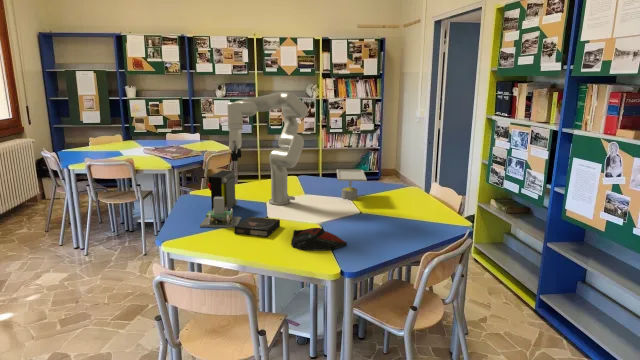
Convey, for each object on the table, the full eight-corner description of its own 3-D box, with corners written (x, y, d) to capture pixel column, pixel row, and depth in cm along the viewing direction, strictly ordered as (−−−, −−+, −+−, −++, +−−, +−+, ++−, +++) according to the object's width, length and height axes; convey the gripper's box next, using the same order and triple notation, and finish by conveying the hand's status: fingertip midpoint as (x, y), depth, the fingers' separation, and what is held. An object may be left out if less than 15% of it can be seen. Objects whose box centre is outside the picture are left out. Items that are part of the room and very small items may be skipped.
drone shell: (285, 245, 192) (285, 228, 190) (313, 234, 206) (313, 218, 205) (322, 258, 179) (322, 240, 177) (349, 245, 193) (350, 228, 192)
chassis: (241, 218, 227) (241, 207, 225) (236, 227, 213) (235, 216, 212) (207, 218, 227) (206, 207, 225) (199, 227, 213) (199, 215, 212)
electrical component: (226, 213, 235) (224, 177, 230) (208, 212, 237) (207, 176, 232) (238, 204, 252) (237, 171, 247) (222, 203, 254) (220, 170, 249)
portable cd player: (234, 235, 204) (234, 227, 204) (249, 223, 221) (249, 216, 220) (266, 238, 200) (266, 230, 199) (279, 227, 216) (279, 219, 215)
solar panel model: (365, 204, 257) (366, 179, 254) (336, 203, 257) (337, 178, 254) (362, 192, 284) (362, 169, 281) (335, 191, 284) (336, 169, 281)
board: (232, 213, 223) (231, 196, 220) (229, 217, 216) (229, 199, 214) (209, 213, 222) (208, 195, 220) (205, 217, 216) (204, 199, 213)
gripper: (231, 124, 231) (232, 156, 235) (224, 128, 214) (225, 162, 218) (245, 125, 231) (246, 156, 235) (239, 128, 214) (240, 162, 218)
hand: (236, 159), depth 227 cm, fingers open, 9 cm apart
